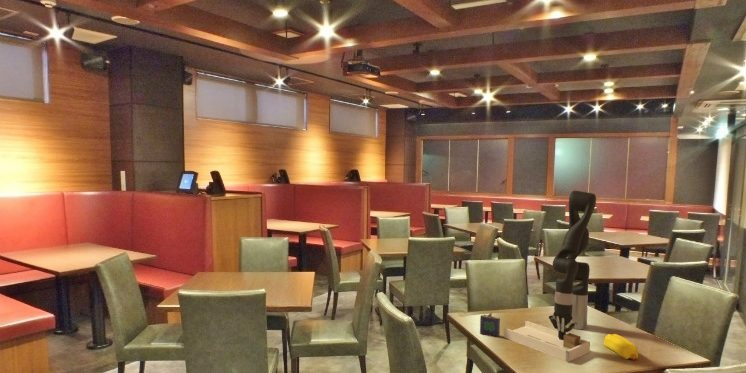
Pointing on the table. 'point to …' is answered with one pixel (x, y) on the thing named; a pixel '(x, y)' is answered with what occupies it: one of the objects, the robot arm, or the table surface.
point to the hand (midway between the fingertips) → (561, 339)
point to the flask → (489, 325)
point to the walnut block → (571, 340)
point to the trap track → (546, 341)
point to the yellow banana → (621, 346)
